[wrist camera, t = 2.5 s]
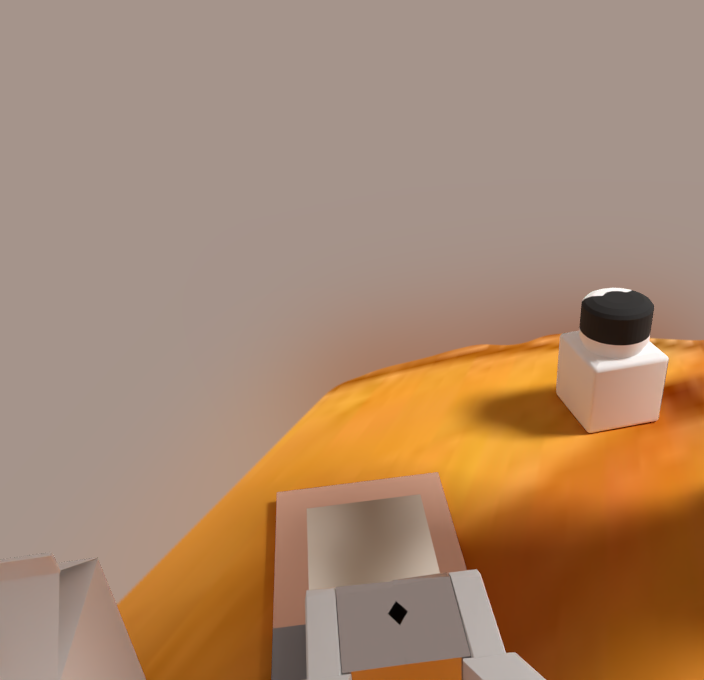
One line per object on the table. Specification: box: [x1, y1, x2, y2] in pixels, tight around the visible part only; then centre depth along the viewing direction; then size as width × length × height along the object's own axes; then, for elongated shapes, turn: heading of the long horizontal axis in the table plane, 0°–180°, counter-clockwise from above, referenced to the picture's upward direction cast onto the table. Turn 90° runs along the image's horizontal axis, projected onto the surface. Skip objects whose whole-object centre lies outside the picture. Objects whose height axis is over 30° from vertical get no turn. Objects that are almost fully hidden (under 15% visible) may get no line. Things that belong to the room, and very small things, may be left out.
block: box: [307, 494, 440, 590], centre depth 34 cm, size 6×8×14 cm
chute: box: [271, 472, 467, 680], centre depth 44 cm, size 14×27×3 cm, turn 5°
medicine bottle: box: [556, 288, 669, 433], centre depth 61 cm, size 7×7×12 cm
